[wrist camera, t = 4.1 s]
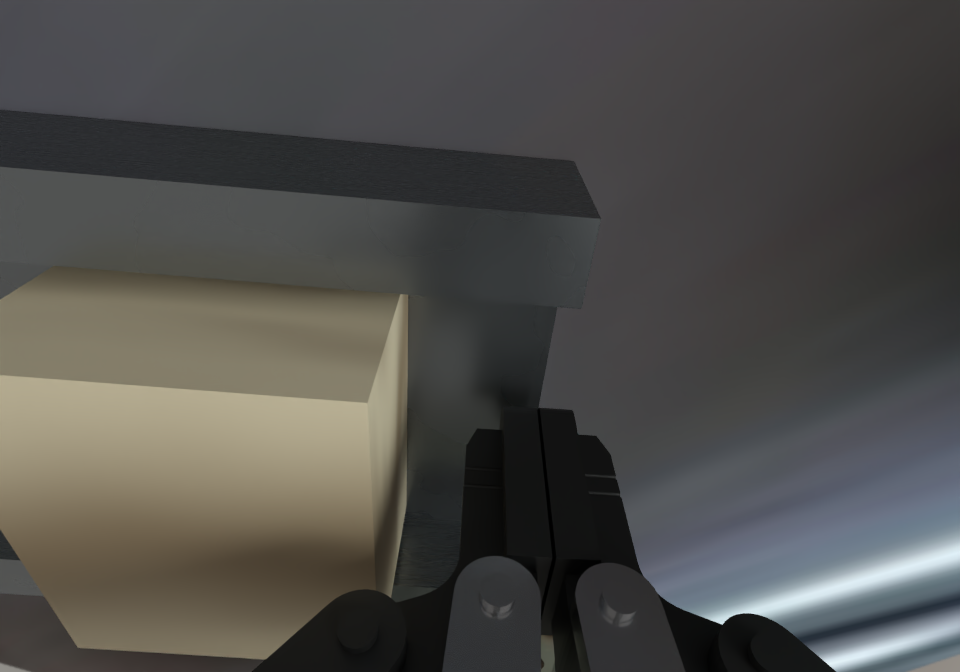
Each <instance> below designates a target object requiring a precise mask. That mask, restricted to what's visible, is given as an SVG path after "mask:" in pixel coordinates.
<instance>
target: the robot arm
mask: <svg viewBox="0 0 960 672" xmlns="http://www.w3.org/2000/svg"><path fill="white" fill-rule="evenodd" d="M541 635H553V645H554V656H555V661H554V664H553V668H552V672H836V671H835V670H834V669H832V668H831V667H830V666H829V665H828V664H827V663H825V662H824V661H823V660H822V659H821V658H820V657H818V656H817V655H816V654H815V653H814V652H813V651H811V650H810V649H809V648H808V647H807V646H806V645H804V644H803V643H802V642H801V641H800V640H799V639H797V638H796V637H795V636H794V635H793V634H792V633H790V632H789V631H788V630H786V629H785V628H784V627H783V626H781V625H779V624H778V623H776V622H774V621H772V620H770V619H768V618H766V617H763V616H760V615H755V614H738V615H735V616H732V617H730V618H729V619H728V620H726V621H725V623H724V624H723V625H721V624H719V623H716V622H713V621H711V620H708V619H705V618H703V617H700V616H698V615H695V614H692V613H690V612H687V611H684V610H682V609H680V608H678V607H676V606H674V605H672V604H670V603H669V602H667V601H666V600H665V599H663V598H662V597H661V596H660V595H658V594H657V592H656V591H655V589H654V587H653V586H652V585H651V584H650V583H649V581H648V580H646V579H645V578H644V576H643V575H642V572H641V570H640V568H639V565H638V562H637V558H636V554H635V550H634V546H633V542H632V538H631V534H630V530H629V526H628V522H627V518H626V514H625V510H624V506H623V502H622V498H621V497H620V490H619V486H618V482H617V480H616V475H615V471H614V467H613V463H612V459H611V455H610V453H609V452H608V451H607V449H606V448H605V447H604V446H603V444H602V443H601V442H600V440H599V439H598V438H597V436H589V435H578V433H577V427H576V422H575V417H574V413H573V411H572V410H564V409H549V408H538V409H536V408H532V407H516V406H502V410H501V418H500V427H499V430H495V429H479V428H477V429H476V431H475V433H474V434H473V436H472V437H471V439H470V440H469V442H468V444H467V445H466V456H465V469H464V483H463V496H462V513H461V530H460V546H459V560H458V563H457V566H456V568H455V570H454V572H453V573H452V575H451V576H450V577H449V579H448V580H447V581H446V582H445V583H444V584H442V585H441V586H440V587H438V588H437V589H435V590H433V591H431V592H430V593H427V594H424V595H421V596H418V597H414V598H411V599H407V600H403V601H400V602H395V601H394V600H393V599H392V598H390V597H389V596H388V595H386V594H384V593H382V592H379V591H375V590H369V589H362V590H355V591H350V592H348V593H345V594H343V595H341V596H339V597H337V598H335V599H334V600H333V601H332V602H330V603H329V604H328V605H327V606H326V607H324V608H323V609H322V610H321V611H320V612H319V613H318V614H316V615H315V616H314V617H313V618H312V619H311V620H310V621H309V622H307V623H306V624H305V625H304V626H303V627H302V628H301V629H300V630H298V631H297V632H296V633H295V634H294V635H293V636H292V637H291V638H289V639H288V640H287V641H286V642H285V643H284V644H283V645H282V646H280V647H279V648H278V649H277V650H276V651H275V652H274V653H272V654H271V655H270V656H269V657H268V658H267V659H266V660H265V661H263V662H262V663H261V664H260V665H259V666H258V667H257V668H256V669H254V670H253V671H252V672H541Z"/></svg>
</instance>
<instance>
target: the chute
mask: <svg viewBox="0 0 960 672" xmlns="http://www.w3.org/2000/svg"><path fill="white" fill-rule="evenodd" d="M600 221H601V218H600V216H599V214H598V212H597V209H596V207H595V205H594V203H593V201H592V199H591V197H590V194H589V192H588V190H587V188H586V186H585V184H584V182H583V179H582V177H581V175H580V173H579V171H578V169H577V167H576V164H575V162H574V161H562V160H551V159H540V158H529V157H518V156H507V155H495V154H484V153H473V152H462V151H451V150H440V149H429V148H417V147H406V146H395V145H384V144H373V143H362V142H350V141H339V140H328V139H317V138H306V137H295V136H284V135H272V134H261V133H250V132H239V131H228V130H217V129H206V128H194V127H183V126H172V125H161V124H150V123H139V122H127V121H116V120H105V119H94V118H83V117H72V116H61V115H49V114H38V113H27V112H16V111H5V110H0V299H2V298H4V297H5V296H7V295H8V294H10V293H12V292H13V291H15V290H16V289H18V288H19V287H21V286H23V285H24V284H26V283H27V282H29V281H31V280H32V279H34V278H35V277H37V276H38V275H40V274H42V273H43V272H45V271H46V270H48V269H50V268H51V267H53V266H63V267H75V268H88V269H100V270H112V271H124V272H136V273H149V274H161V275H173V276H185V277H197V278H210V279H222V280H234V281H246V282H258V283H271V284H283V285H295V286H307V287H320V288H332V289H344V290H356V291H368V292H381V293H393V294H405V295H408V387H407V501H406V511H405V517H404V523H403V529H402V535H401V541H400V547H399V553H398V559H397V565H396V571H395V577H394V583H393V589H392V595H391V598H392V599H393V600H394V601H395V602H400V601H403V600H407V599H411V598H414V597H418V596H421V595H424V594H427V593H430V592H431V591H433V590H435V589H437V588H438V587H440V586H441V585H442V584H444V583H445V582H446V581H447V580H448V579H449V577H450V576H451V575H452V573H453V572H454V570H455V568H456V566H457V563H458V560H459V546H460V530H461V513H462V496H463V483H464V469H465V456H466V445H467V444H468V442H469V440H470V439H471V437H472V436H473V434H474V433H475V431H476V429H477V428H479V429H495V430H499V427H500V418H501V410H502V406H516V407H532V408H536V409H538V406H539V401H540V396H541V390H542V385H543V380H544V374H545V369H546V364H547V358H548V353H549V348H550V342H551V337H552V332H553V326H554V321H555V316H556V310H557V307H564V308H576V309H581V308H582V304H583V299H584V295H585V290H586V285H587V281H588V276H589V272H590V267H591V262H592V258H593V253H594V249H595V244H596V239H597V235H598V230H599V226H600ZM0 593H1V594H16V595H32V596H44V595H43V594H42V592H41V591H40V589H39V588H38V586H37V585H36V583H35V581H34V580H33V578H32V577H31V575H30V574H29V572H28V571H27V569H26V568H25V566H24V565H23V563H22V562H21V560H20V559H19V557H18V556H17V554H16V553H15V551H14V549H13V548H12V546H11V545H10V543H9V542H8V540H7V539H6V537H5V536H4V534H3V533H2V531H1V530H0Z"/></svg>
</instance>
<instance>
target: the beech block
mask: <svg viewBox="0 0 960 672" xmlns="http://www.w3.org/2000/svg"><path fill="white" fill-rule="evenodd" d="M407 387H408V295H405V294H393V293H381V292H368V291H356V290H344V289H332V288H320V287H307V286H295V285H283V284H271V283H258V282H246V281H234V280H222V279H210V278H197V277H185V276H173V275H161V274H149V273H136V272H124V271H112V270H100V269H88V268H75V267H63V266H53V267H51V268H50V269H48V270H46V271H45V272H43V273H42V274H40V275H38V276H37V277H35V278H34V279H32V280H31V281H29V282H27V283H26V284H24V285H23V286H21V287H19V288H18V289H16V290H15V291H13V292H12V293H10V294H8V295H7V296H5V297H4V298H2V299H0V530H1V531H2V533H3V534H4V536H5V537H6V539H7V540H8V542H9V543H10V545H11V546H12V548H13V549H14V551H15V553H16V554H17V556H18V557H19V559H20V560H21V562H22V563H23V565H24V566H25V568H26V569H27V571H28V572H29V574H30V575H31V577H32V578H33V580H34V581H35V583H36V585H37V586H38V588H39V589H40V591H41V592H42V594H43V595H44V597H45V598H46V600H47V601H48V603H49V604H50V606H51V607H52V609H53V610H54V612H55V613H56V615H57V617H58V618H59V620H60V621H61V623H62V624H63V626H64V627H65V629H66V630H67V632H68V633H69V635H70V636H71V638H72V639H73V641H74V642H75V644H76V645H77V647H78V648H89V649H105V650H121V651H137V652H153V653H169V654H185V655H201V656H217V657H233V658H249V659H265V660H266V659H267V658H268V657H269V656H270V655H271V654H272V653H274V652H275V651H276V650H277V649H278V648H279V647H280V646H282V645H283V644H284V643H285V642H286V641H287V640H288V639H289V638H291V637H292V636H293V635H294V634H295V633H296V632H297V631H298V630H300V629H301V628H302V627H303V626H304V625H305V624H306V623H307V622H309V621H310V620H311V619H312V618H313V617H314V616H315V615H316V614H318V613H319V612H320V611H321V610H322V609H323V608H324V607H326V606H327V605H328V604H329V603H330V602H332V601H333V600H334V599H335V598H337V597H339V596H341V595H343V594H345V593H348V592H350V591H355V590H362V589H369V590H375V591H379V592H382V593H384V594H386V595H388V596H389V597H390V598H391V595H392V589H393V583H394V577H395V571H396V565H397V559H398V553H399V547H400V541H401V535H402V529H403V523H404V517H405V511H406V501H407Z"/></svg>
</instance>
